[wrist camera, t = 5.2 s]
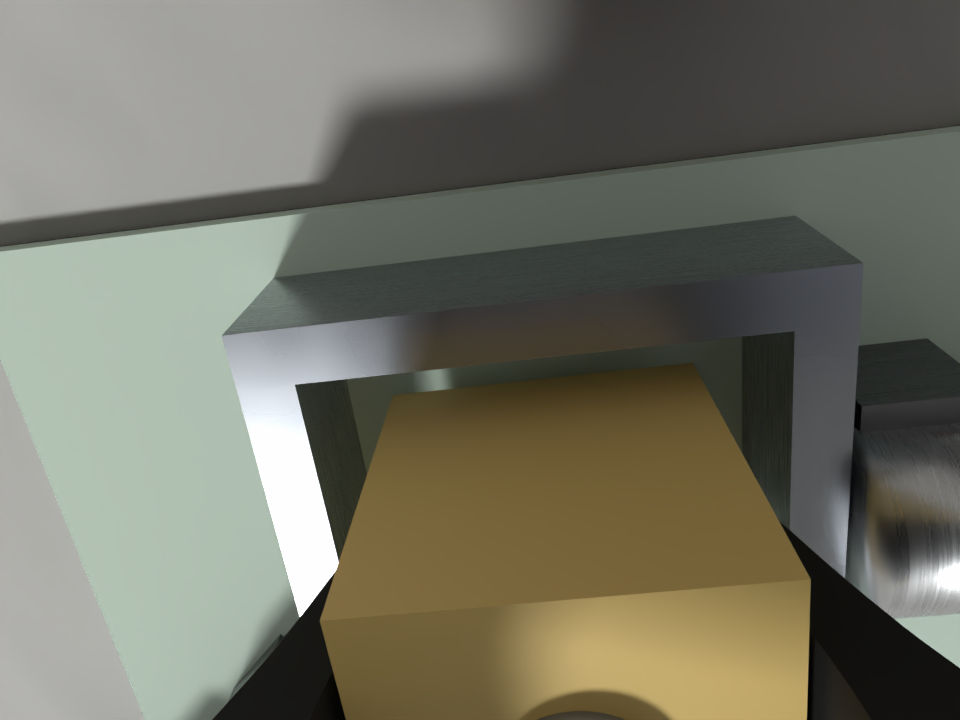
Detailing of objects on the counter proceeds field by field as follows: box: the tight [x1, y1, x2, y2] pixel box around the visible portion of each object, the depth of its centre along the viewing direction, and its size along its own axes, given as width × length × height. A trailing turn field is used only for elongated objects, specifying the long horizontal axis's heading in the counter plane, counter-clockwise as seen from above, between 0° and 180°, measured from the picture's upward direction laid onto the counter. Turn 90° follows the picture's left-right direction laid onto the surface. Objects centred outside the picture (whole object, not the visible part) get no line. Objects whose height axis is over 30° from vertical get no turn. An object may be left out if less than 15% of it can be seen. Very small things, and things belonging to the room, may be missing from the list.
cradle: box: [222, 216, 863, 616], centre depth 13 cm, size 8×8×3 cm
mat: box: [0, 126, 960, 720], centre depth 15 cm, size 22×16×1 cm
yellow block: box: [320, 363, 811, 720], centre depth 10 cm, size 4×4×5 cm
